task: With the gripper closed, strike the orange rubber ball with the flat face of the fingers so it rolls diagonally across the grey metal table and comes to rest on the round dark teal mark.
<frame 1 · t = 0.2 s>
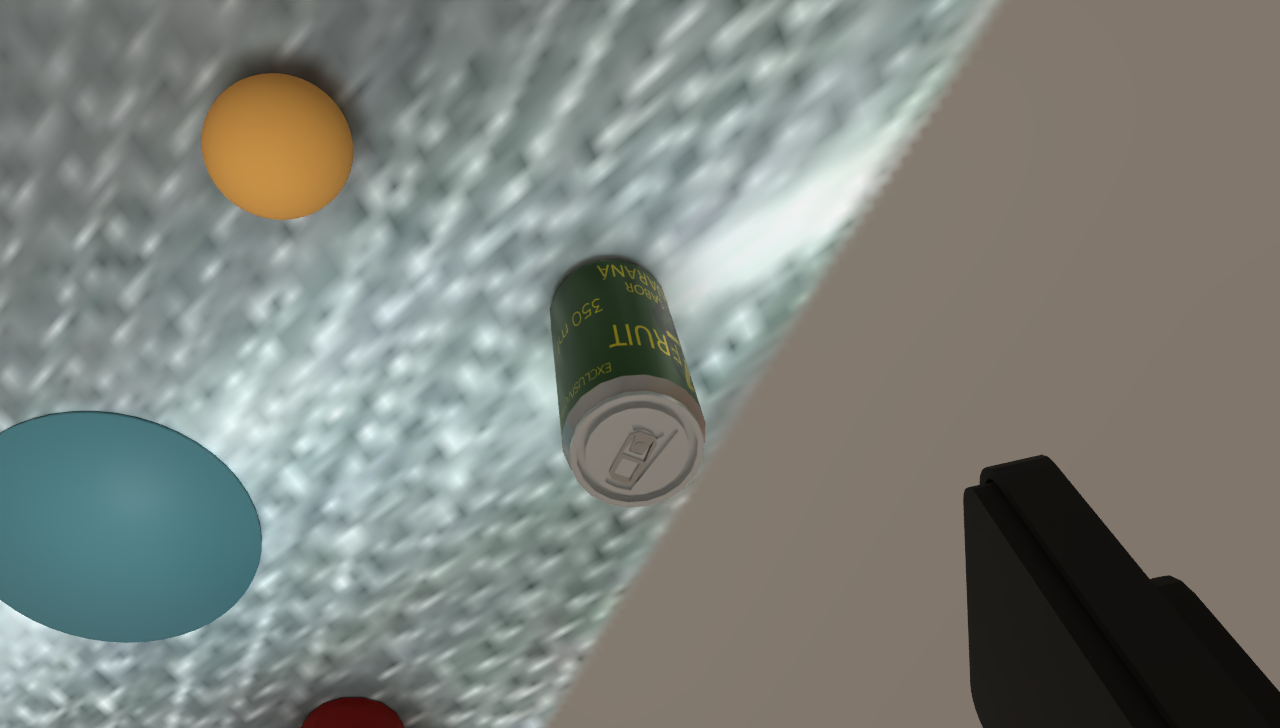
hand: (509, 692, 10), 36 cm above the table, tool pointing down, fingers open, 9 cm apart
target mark: (112, 533, 51), on the table
green soda can: (607, 304, 48), on the table
ball: (279, 147, 40), on the table
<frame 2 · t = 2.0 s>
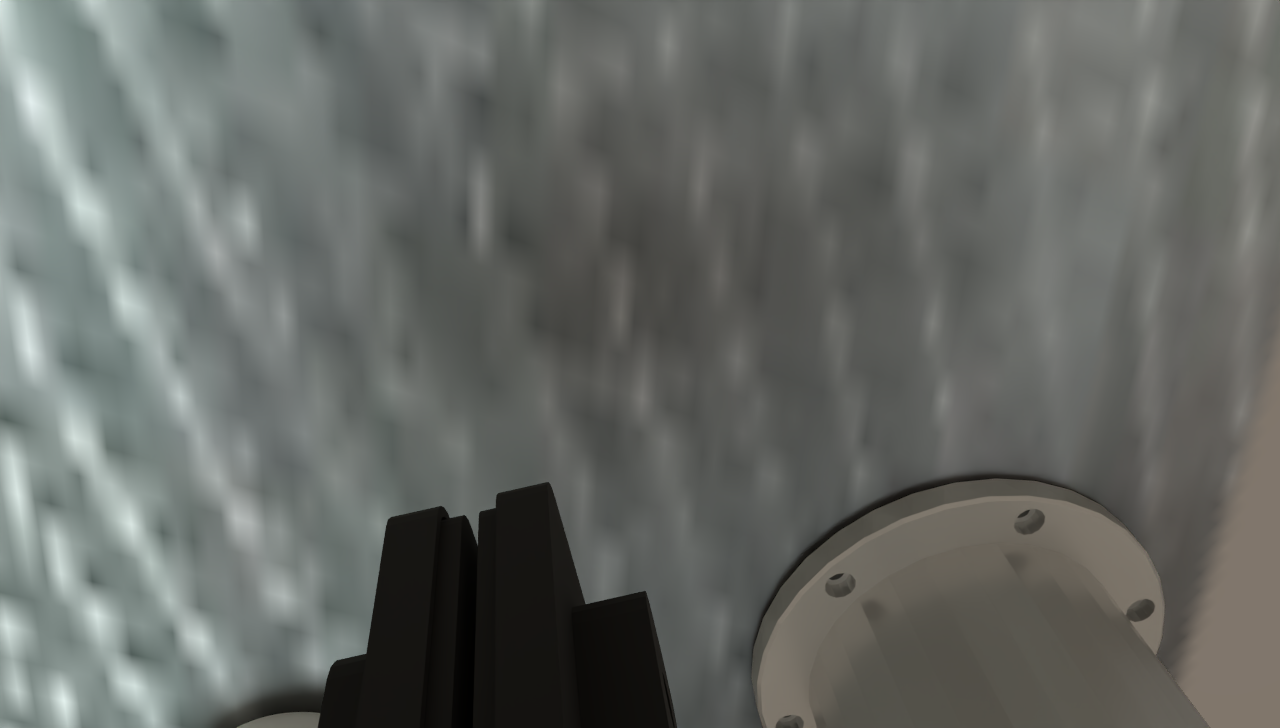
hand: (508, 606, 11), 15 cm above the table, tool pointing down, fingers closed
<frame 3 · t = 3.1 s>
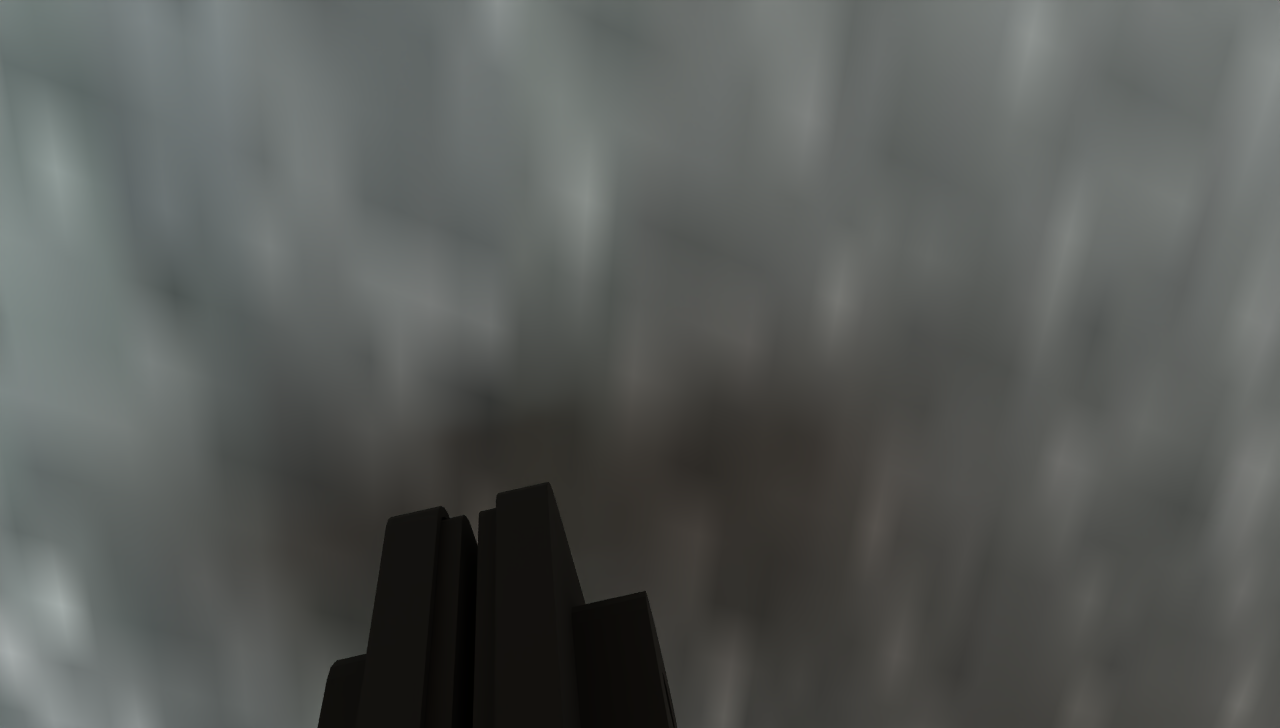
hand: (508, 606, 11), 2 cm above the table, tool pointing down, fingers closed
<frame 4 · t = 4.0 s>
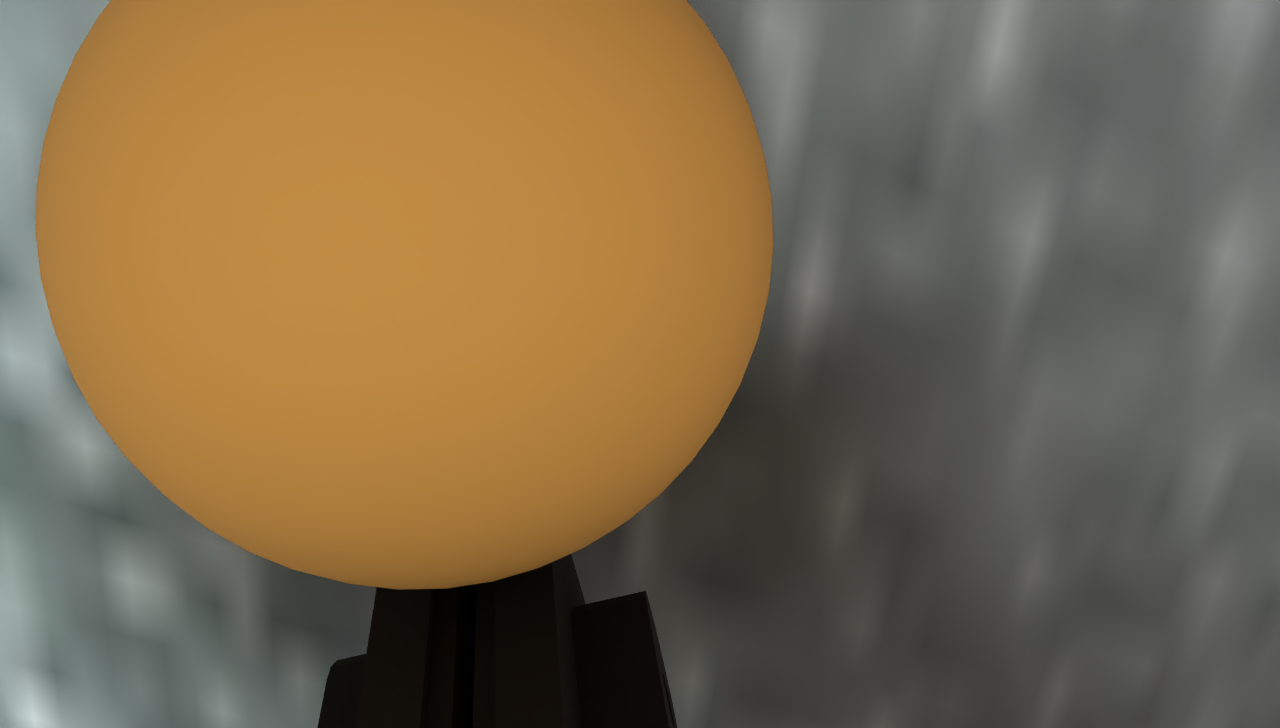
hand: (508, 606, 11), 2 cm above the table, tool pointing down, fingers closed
ball: (429, 241, 8), on the table
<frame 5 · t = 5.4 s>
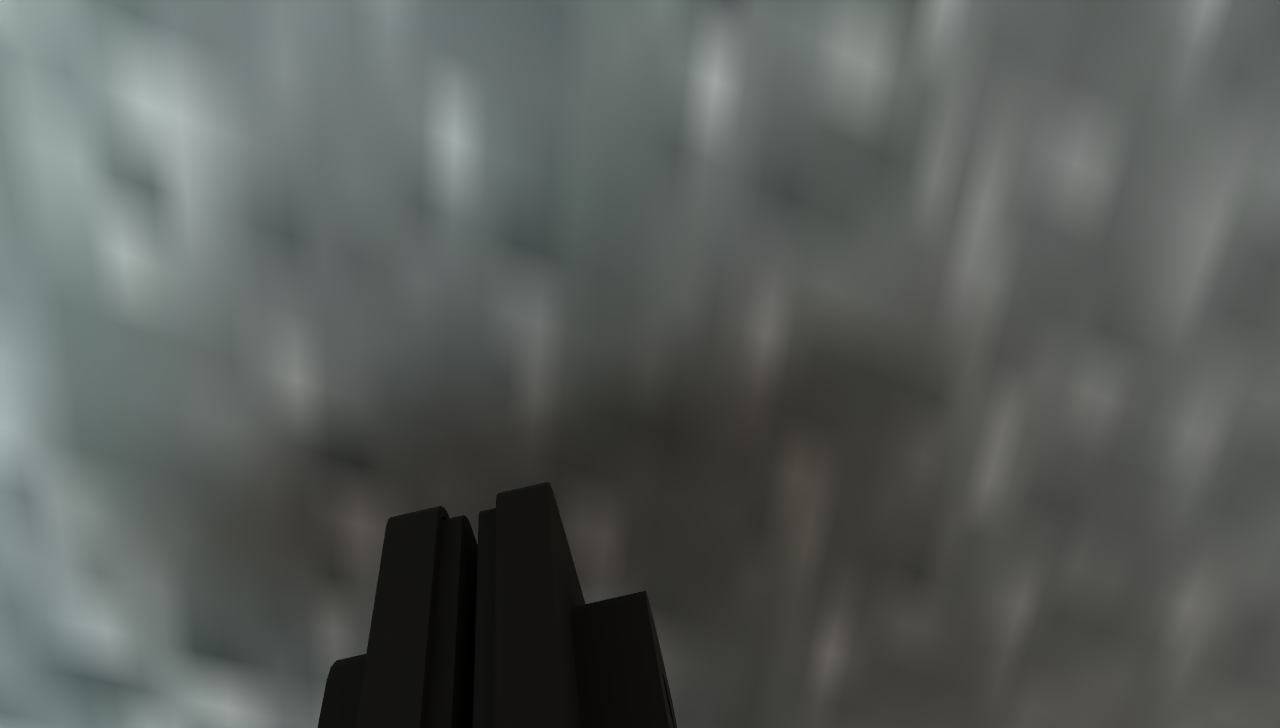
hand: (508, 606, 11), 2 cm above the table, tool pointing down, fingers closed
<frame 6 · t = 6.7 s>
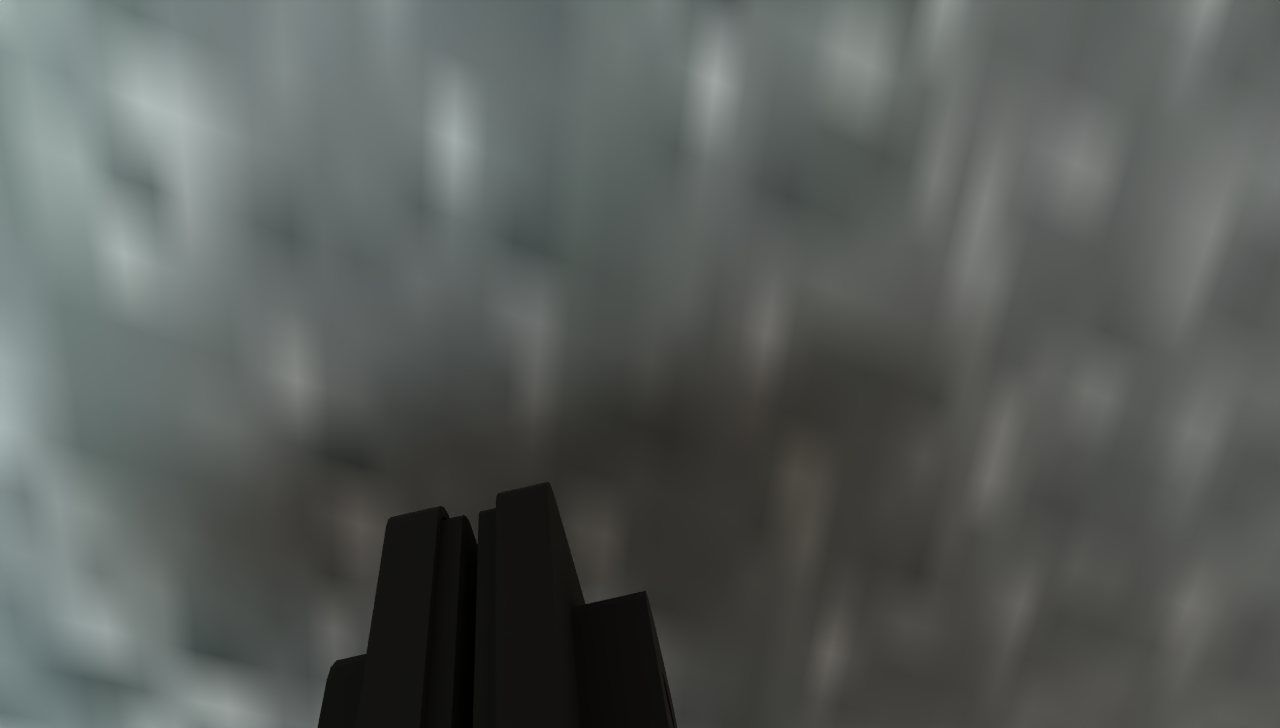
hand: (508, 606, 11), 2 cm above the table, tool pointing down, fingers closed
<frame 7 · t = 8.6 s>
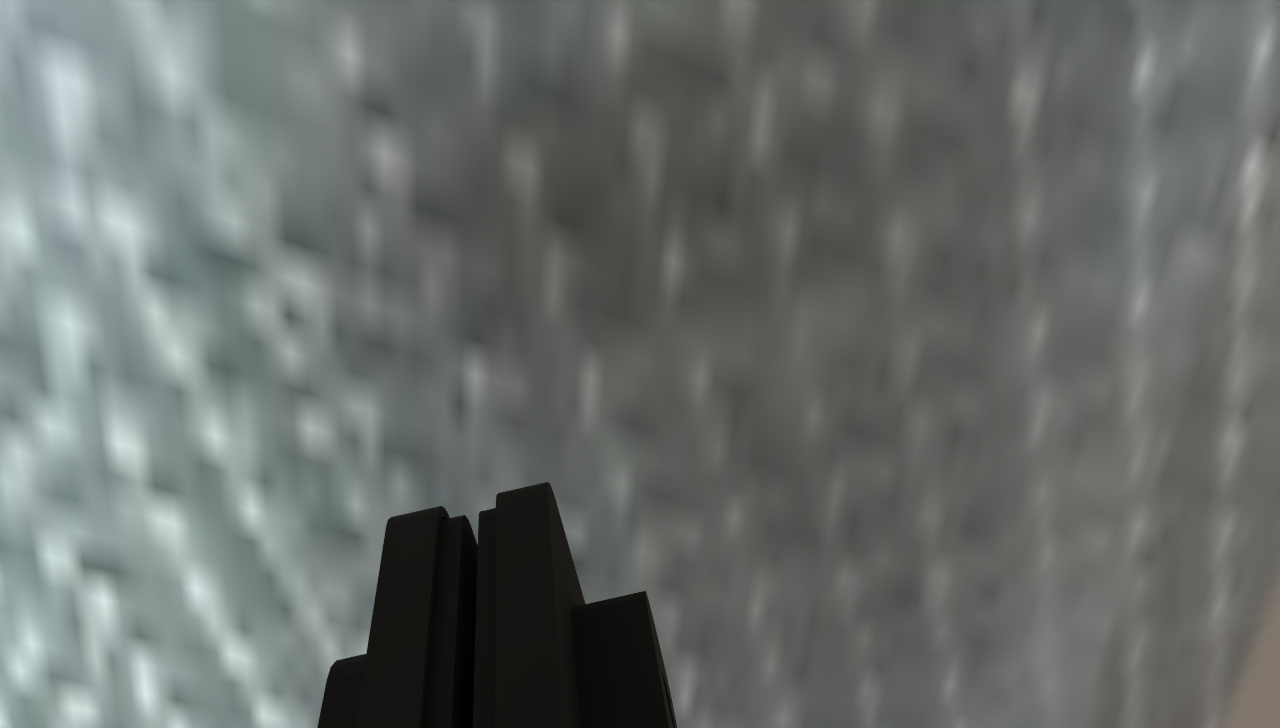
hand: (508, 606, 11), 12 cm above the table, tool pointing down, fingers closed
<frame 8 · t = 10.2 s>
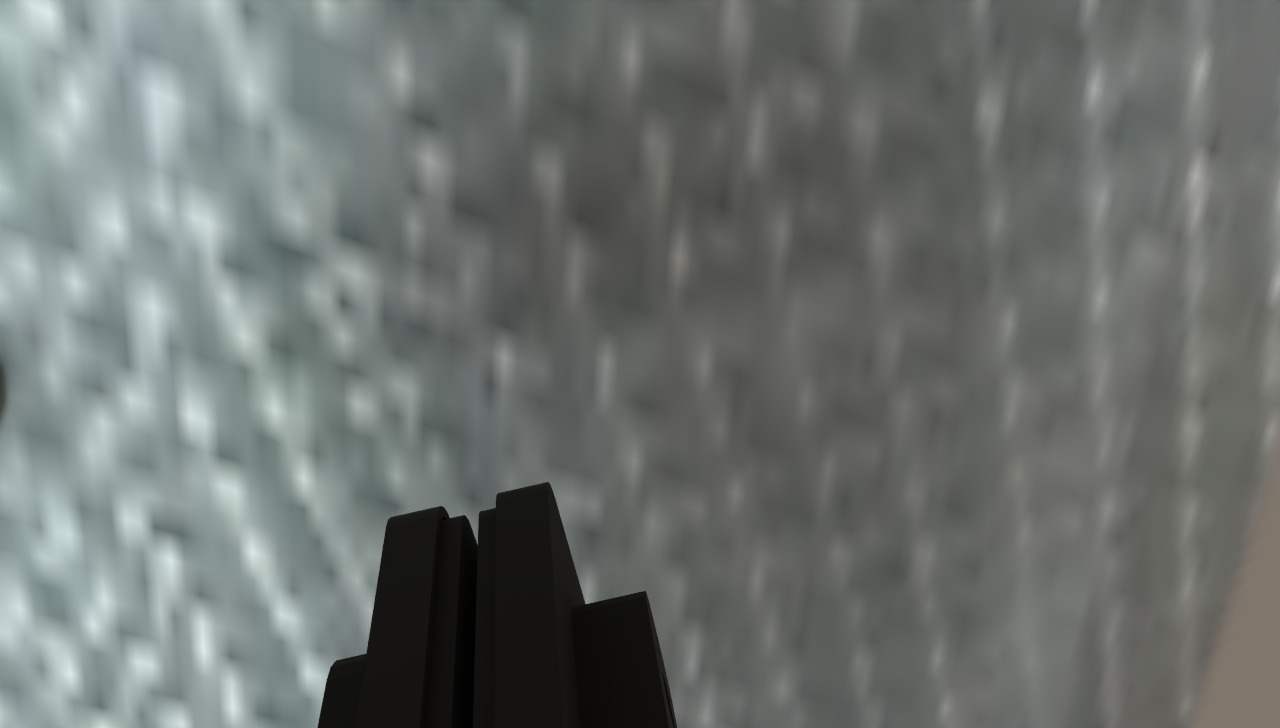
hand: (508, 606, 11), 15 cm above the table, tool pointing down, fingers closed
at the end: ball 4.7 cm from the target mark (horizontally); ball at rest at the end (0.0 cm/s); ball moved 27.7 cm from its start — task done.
